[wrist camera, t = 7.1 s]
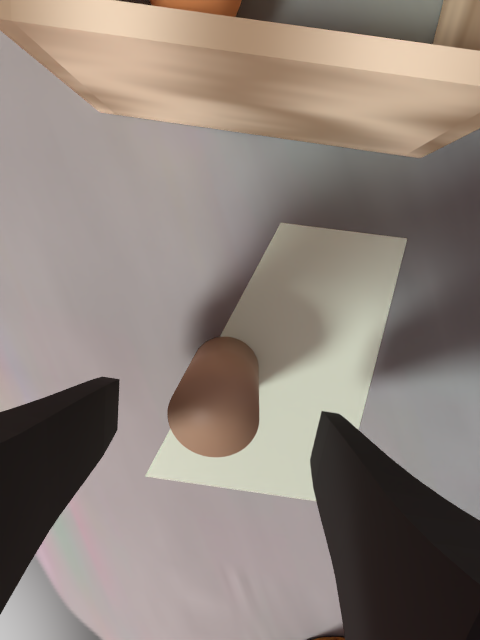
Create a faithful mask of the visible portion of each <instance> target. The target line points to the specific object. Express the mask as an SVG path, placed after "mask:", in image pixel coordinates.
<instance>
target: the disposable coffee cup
mask: <svg viewBox="0 0 480 640" xmlns="http://www.w3.org/2000/svg"><path fill="white" fill-rule="evenodd" d="M313 640H345V638H343V637H322V638H317V639H313Z"/></svg>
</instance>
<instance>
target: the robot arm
mask: <svg viewBox="0 0 480 640" xmlns="http://www.w3.org/2000/svg"><path fill="white" fill-rule="evenodd" d="M118 401H119V379H114V378H107V377H100V378H96V379H93V380H90V381H87V382H85V383H82V384H79V385H77V386H74V387H71V388H69V389H66V390H63V391H61V392H58V393H55V394H53V395H50V396H47V397H45V398H42V399H39V400H36V401H33V402H30V403H27V404H24V405H21V406H18V407H16V408H13V409H9V410H6V411H3V412H0V614H1V612H2V610H3V609H4V607H5V605H6V603H7V602H8V600H9V598H10V596H11V595H12V593H13V591H14V589H15V588H16V586H17V584H18V583H19V581H20V579H21V577H22V576H23V574H24V572H25V570H26V568H27V567H28V565H29V563H30V562H31V560H32V559H33V557H34V555H35V554H36V552H37V550H38V549H39V547H40V545H41V544H42V542H43V540H44V539H45V537H46V535H47V534H48V532H49V530H50V529H51V527H52V526H53V524H54V523H55V522H56V520H57V519H58V517H59V516H60V514H61V513H62V511H63V510H64V509H65V507H66V506H67V505H68V503H69V502H70V501H71V499H72V498H73V496H74V495H75V494H76V492H77V491H78V490H79V488H80V487H81V486H82V484H83V483H84V481H85V480H86V479H87V477H88V476H89V475H90V473H91V472H92V470H93V469H94V468H95V466H96V465H97V463H98V462H99V461H100V459H101V458H102V456H103V455H104V453H105V451H106V450H107V448H108V446H109V444H110V442H111V441H112V439H113V437H114V435H115V433H116V431H117V424H118ZM310 466H311V475H312V482H313V489H314V493H315V497H316V501H317V505H318V509H319V513H320V517H321V521H322V525H323V529H324V533H325V536H326V540H327V544H328V548H329V552H330V556H331V560H332V564H333V569H334V573H335V578H336V584H337V590H338V596H339V602H340V608H341V614H342V621H343V627H344V634H345V640H480V521H479V520H478V519H476V518H475V517H473V516H471V515H470V514H468V513H466V512H465V511H463V510H461V509H460V508H458V507H457V506H455V505H454V504H452V503H451V502H449V501H447V500H446V499H444V498H443V497H442V496H440V495H439V494H437V493H436V492H434V491H433V490H432V489H430V488H429V487H427V486H426V485H424V484H423V483H422V482H420V481H419V480H418V479H416V478H415V477H413V476H412V475H411V474H410V473H408V472H407V471H406V470H405V469H403V468H402V467H401V466H400V465H398V464H397V463H396V462H395V461H393V460H392V459H391V458H390V457H388V456H387V455H386V454H385V453H384V452H383V451H381V450H380V449H379V448H378V447H377V446H376V445H375V444H373V443H372V442H371V441H370V440H369V439H368V438H367V437H366V436H364V435H363V434H362V433H361V432H360V431H359V430H358V429H357V428H356V427H354V426H353V425H352V424H351V423H350V422H349V421H348V420H347V419H345V418H344V417H343V416H342V415H340V414H338V413H332V412H325V411H321V416H320V420H319V424H318V428H317V432H316V436H315V441H314V445H313V449H312V453H311V457H310Z"/></svg>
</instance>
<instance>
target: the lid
mask: <svg viewBox="0 0 480 640" xmlns="http://www.w3.org/2000/svg"><path fill="white" fill-rule="evenodd" d="M406 242H407V238H399V237H391V236H383V235H375V234H367V233H359V232H351V231H343V230H335V229H327V228H319V227H311V226H303V225H295V224H287V223H280V225H279V227H278V229H277V231H276V233H275V235H274V236H273V238H272V240H271V242H270V244H269V246H268V248H267V249H266V251H265V253H264V255H263V257H262V259H261V261H260V263H259V264H258V266H257V268H256V270H255V272H254V274H253V276H252V277H251V279H250V281H249V283H248V285H247V287H246V289H245V291H244V292H243V294H242V296H241V298H240V300H239V302H238V304H237V305H236V307H235V309H234V311H233V313H232V315H231V317H230V319H229V320H228V322H227V324H226V326H225V328H224V330H223V332H222V333H221V335H220V337H217V338H213V339H211V340H209V341H207V342H205V343H204V344H203V345H202V346H201V347H200V348H199V349H198V350H197V352H196V354H195V356H194V357H193V359H192V361H191V363H190V365H189V367H188V368H187V370H186V372H185V374H184V376H183V378H182V379H181V381H180V383H179V385H178V387H177V388H176V390H175V392H174V394H173V396H172V398H171V400H170V403H169V406H168V422H169V426H170V428H171V429H170V431H169V432H168V434H167V436H166V438H165V440H164V442H163V444H162V446H161V447H160V449H159V451H158V453H157V455H156V457H155V459H154V460H153V462H152V464H151V466H150V468H149V470H148V472H147V474H146V475H145V476H146V477H152V478H159V479H166V480H173V481H180V482H187V483H194V484H201V485H208V486H215V487H221V488H228V489H235V490H242V491H249V492H256V493H263V494H270V495H277V496H284V497H291V498H297V499H304V500H311V501H316V497H315V493H314V489H313V482H312V475H311V466H310V457H311V453H312V449H313V445H314V441H315V436H316V432H317V428H318V424H319V420H320V416H321V411H325V412H332V413H338V414H340V415H342V416H343V417H344V418H345V419H347V420H348V421H349V422H350V423H351V424H352V425H353V426H354V427H356V428H357V429H358V430H359V426H360V422H361V418H362V414H363V411H364V407H365V403H366V399H367V395H368V391H369V387H370V383H371V379H372V375H373V371H374V367H375V364H376V360H377V356H378V352H379V348H380V344H381V340H382V336H383V332H384V328H385V324H386V320H387V317H388V313H389V309H390V305H391V301H392V297H393V293H394V289H395V285H396V281H397V277H398V273H399V270H400V266H401V262H402V258H403V254H404V250H405V246H406Z"/></svg>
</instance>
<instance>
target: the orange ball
mask: <svg viewBox="0 0 480 640" xmlns="http://www.w3.org/2000/svg"><path fill="white" fill-rule="evenodd" d="M241 1H242V0H150V2H151V4H152V6H159V7H166V8H173V9H181V10H188V11H195V12H202V13H209V14H217V15H224V16H231V17H236V15H237V12H238V10H239V7H240V4H241Z"/></svg>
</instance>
